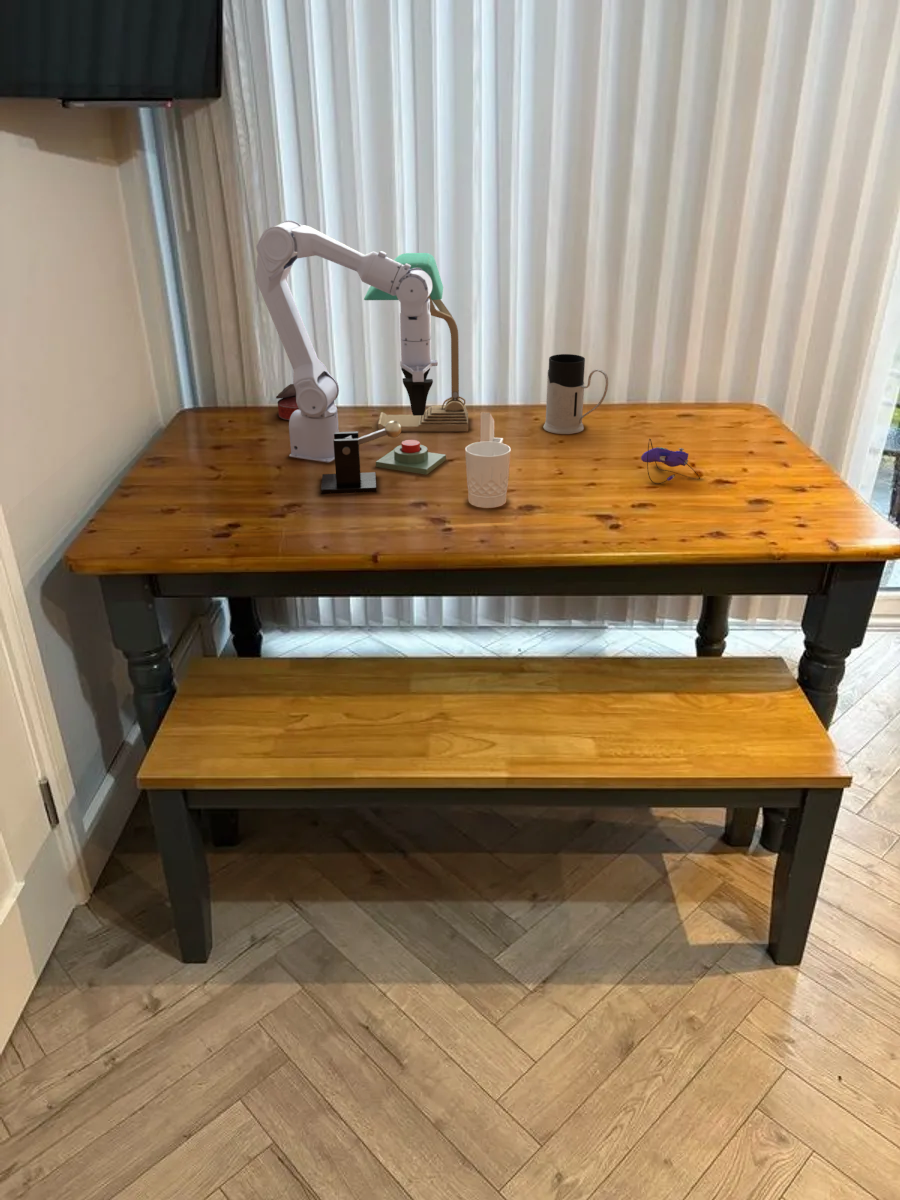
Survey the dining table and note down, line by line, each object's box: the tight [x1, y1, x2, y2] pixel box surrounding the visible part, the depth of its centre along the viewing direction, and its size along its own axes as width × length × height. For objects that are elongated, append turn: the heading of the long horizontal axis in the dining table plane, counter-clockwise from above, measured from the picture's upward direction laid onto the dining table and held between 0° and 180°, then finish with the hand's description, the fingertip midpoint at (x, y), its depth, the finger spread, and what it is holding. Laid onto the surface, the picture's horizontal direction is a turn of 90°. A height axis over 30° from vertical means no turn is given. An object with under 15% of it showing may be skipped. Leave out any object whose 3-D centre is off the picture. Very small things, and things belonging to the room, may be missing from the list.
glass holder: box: [542, 353, 609, 435], centre depth 201 cm, size 9×14×15 cm, turn 54°
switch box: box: [375, 444, 447, 475], centre depth 186 cm, size 11×9×3 cm
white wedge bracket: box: [479, 411, 504, 444], centre depth 187 cm, size 4×10×9 cm
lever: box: [342, 421, 402, 446], centre depth 172 cm, size 12×3×3 cm, turn 96°
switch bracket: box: [320, 430, 377, 495], centre depth 174 cm, size 10×8×10 cm
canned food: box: [275, 383, 300, 421], centre depth 215 cm, size 11×10×10 cm
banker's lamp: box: [363, 252, 469, 433], centre depth 200 cm, size 16×21×35 cm
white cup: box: [464, 441, 512, 509], centre depth 167 cm, size 8×8×10 cm
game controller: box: [640, 438, 701, 485], centre depth 179 cm, size 10×8×10 cm
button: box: [400, 439, 421, 453], centre depth 185 cm, size 4×4×2 cm
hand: (417, 409), depth 184 cm, fingers open, 7 cm apart
